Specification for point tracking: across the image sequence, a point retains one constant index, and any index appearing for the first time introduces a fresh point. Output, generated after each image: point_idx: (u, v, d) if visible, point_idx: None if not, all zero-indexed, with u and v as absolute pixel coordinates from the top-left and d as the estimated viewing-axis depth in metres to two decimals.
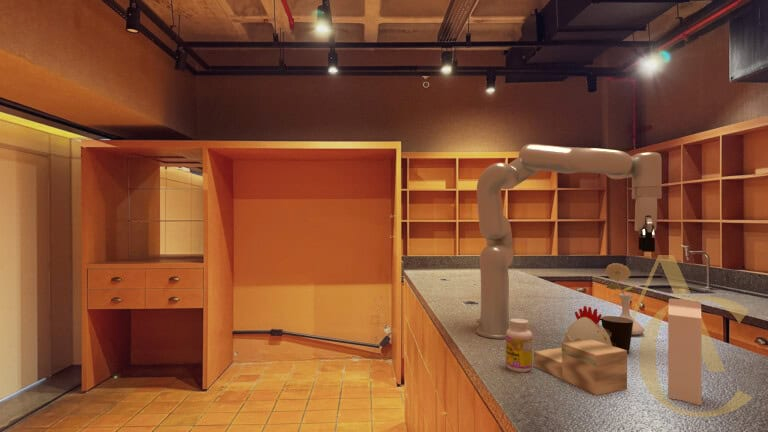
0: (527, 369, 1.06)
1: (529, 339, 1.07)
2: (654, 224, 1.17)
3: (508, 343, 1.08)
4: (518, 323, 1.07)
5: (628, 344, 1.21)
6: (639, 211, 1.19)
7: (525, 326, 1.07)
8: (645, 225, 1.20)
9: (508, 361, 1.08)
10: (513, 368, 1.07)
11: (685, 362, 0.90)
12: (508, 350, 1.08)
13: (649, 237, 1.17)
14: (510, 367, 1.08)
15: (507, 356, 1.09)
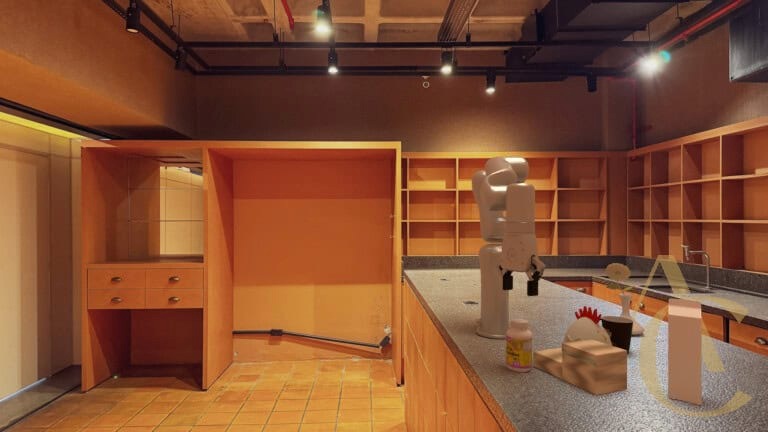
0: (527, 369, 1.06)
1: (529, 339, 1.07)
2: None
3: (508, 343, 1.08)
4: (518, 323, 1.07)
5: (628, 344, 1.21)
6: (525, 250, 1.05)
7: (525, 326, 1.07)
8: None
9: (508, 361, 1.08)
10: (513, 368, 1.07)
11: (685, 362, 0.90)
12: (508, 350, 1.08)
13: (536, 280, 1.04)
14: (510, 367, 1.08)
15: (507, 356, 1.09)
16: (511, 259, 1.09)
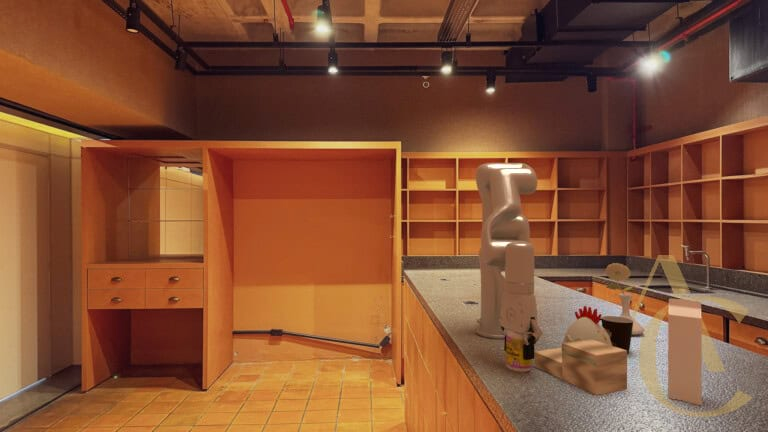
0: (527, 369, 1.06)
1: None
2: None
3: (508, 343, 1.08)
4: None
5: (628, 344, 1.21)
6: (525, 312, 1.04)
7: None
8: None
9: (508, 361, 1.08)
10: (513, 368, 1.07)
11: (685, 362, 0.90)
12: (508, 350, 1.08)
13: (532, 344, 1.05)
14: (510, 367, 1.08)
15: (507, 356, 1.09)
16: (510, 319, 1.09)
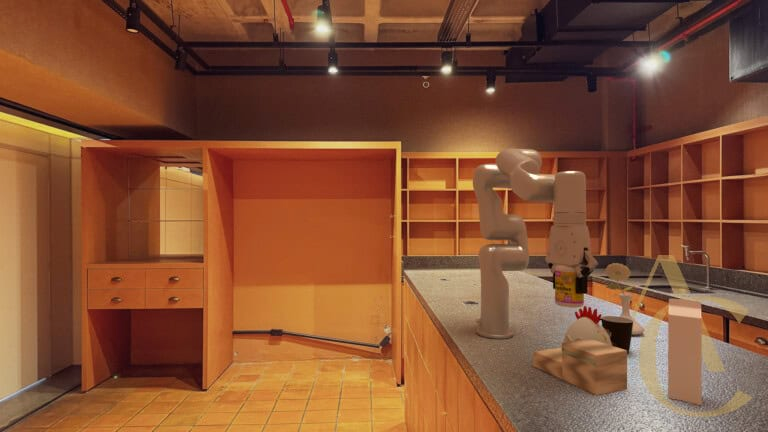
0: (579, 304, 0.99)
1: None
2: None
3: (558, 278, 1.02)
4: None
5: (628, 344, 1.21)
6: (578, 242, 0.98)
7: None
8: None
9: (558, 297, 1.01)
10: (564, 304, 1.00)
11: (685, 362, 0.90)
12: (558, 285, 1.02)
13: (586, 276, 0.98)
14: (560, 303, 1.01)
15: (557, 292, 1.02)
16: (560, 252, 1.02)
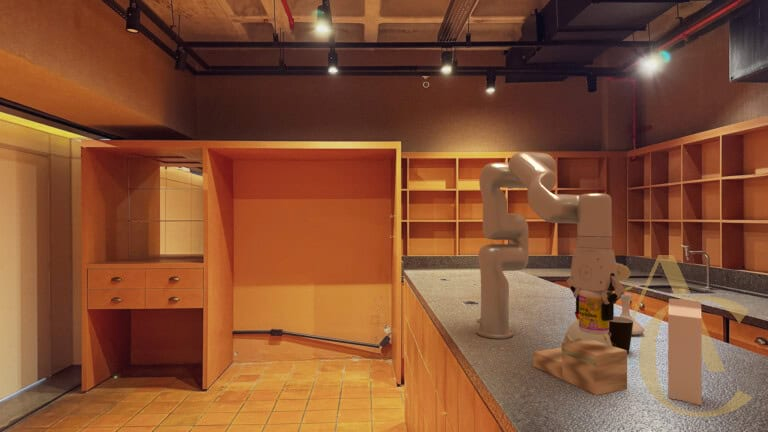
0: (605, 331, 0.96)
1: None
2: None
3: (583, 303, 0.98)
4: None
5: (628, 344, 1.21)
6: (604, 268, 0.94)
7: None
8: None
9: (583, 323, 0.98)
10: (589, 330, 0.97)
11: (685, 362, 0.90)
12: (583, 311, 0.98)
13: (612, 303, 0.95)
14: (585, 330, 0.98)
15: (581, 318, 0.99)
16: (585, 277, 0.99)
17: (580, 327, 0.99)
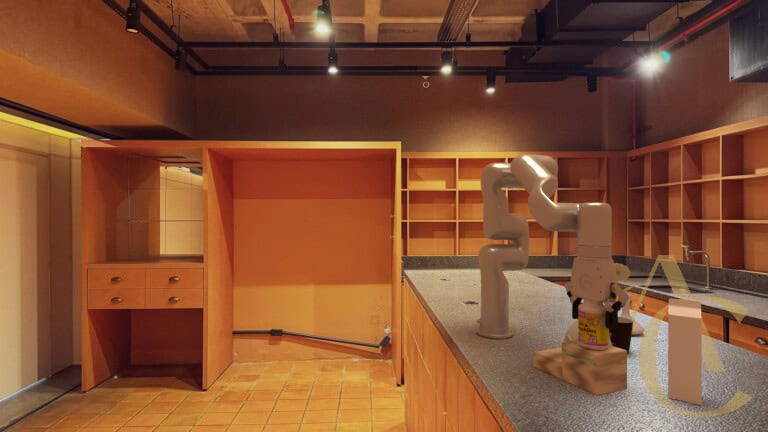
0: (605, 347, 0.96)
1: None
2: None
3: (582, 319, 0.99)
4: None
5: (628, 344, 1.21)
6: (604, 278, 0.94)
7: None
8: None
9: (582, 338, 0.98)
10: (589, 346, 0.97)
11: (685, 362, 0.90)
12: (582, 326, 0.99)
13: (616, 310, 0.94)
14: (585, 345, 0.98)
15: (581, 333, 0.99)
16: (585, 286, 0.99)
17: (579, 342, 0.99)
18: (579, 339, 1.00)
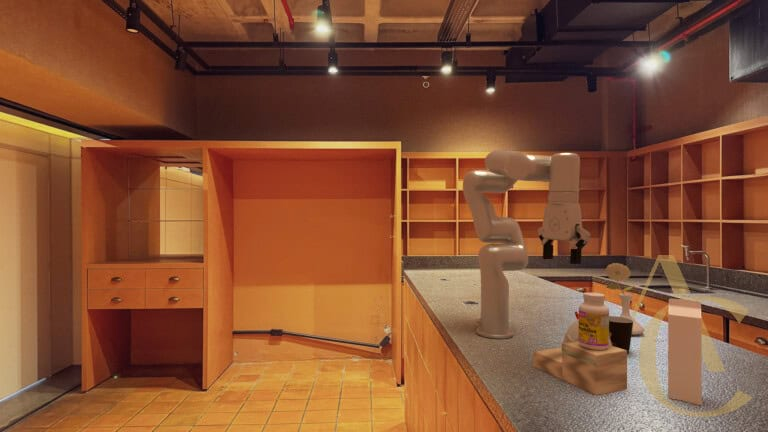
0: (605, 347, 0.96)
1: (607, 314, 0.97)
2: (581, 233, 1.07)
3: (582, 319, 0.98)
4: (594, 296, 0.97)
5: (628, 344, 1.21)
6: (570, 219, 1.06)
7: (602, 300, 0.97)
8: None
9: (582, 338, 0.98)
10: (589, 346, 0.97)
11: (685, 362, 0.90)
12: (582, 326, 0.98)
13: (580, 248, 1.06)
14: (585, 345, 0.98)
15: (581, 333, 0.99)
16: (554, 228, 1.10)
17: (580, 342, 0.99)
18: (579, 339, 1.00)
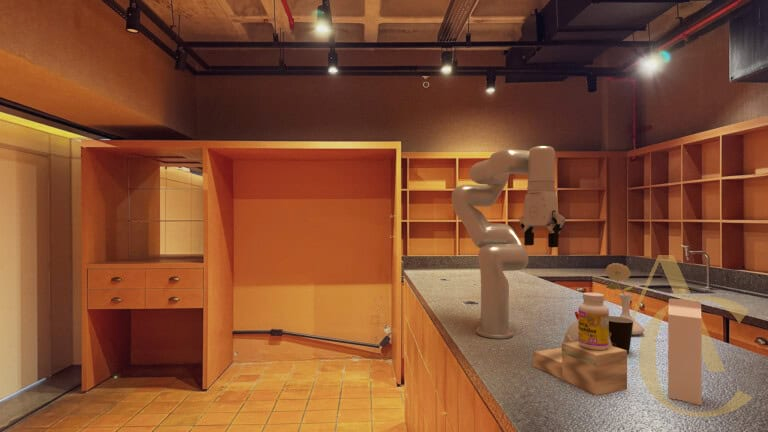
0: (605, 347, 0.96)
1: (606, 314, 0.97)
2: (557, 219, 1.16)
3: (582, 319, 0.99)
4: (594, 296, 0.97)
5: (628, 344, 1.21)
6: (547, 206, 1.15)
7: (601, 300, 0.97)
8: None
9: (582, 338, 0.98)
10: (589, 346, 0.97)
11: (685, 362, 0.90)
12: (582, 326, 0.99)
13: (557, 232, 1.15)
14: (585, 345, 0.98)
15: (581, 333, 0.99)
16: (533, 215, 1.19)
17: (579, 342, 0.99)
18: (579, 339, 1.00)
